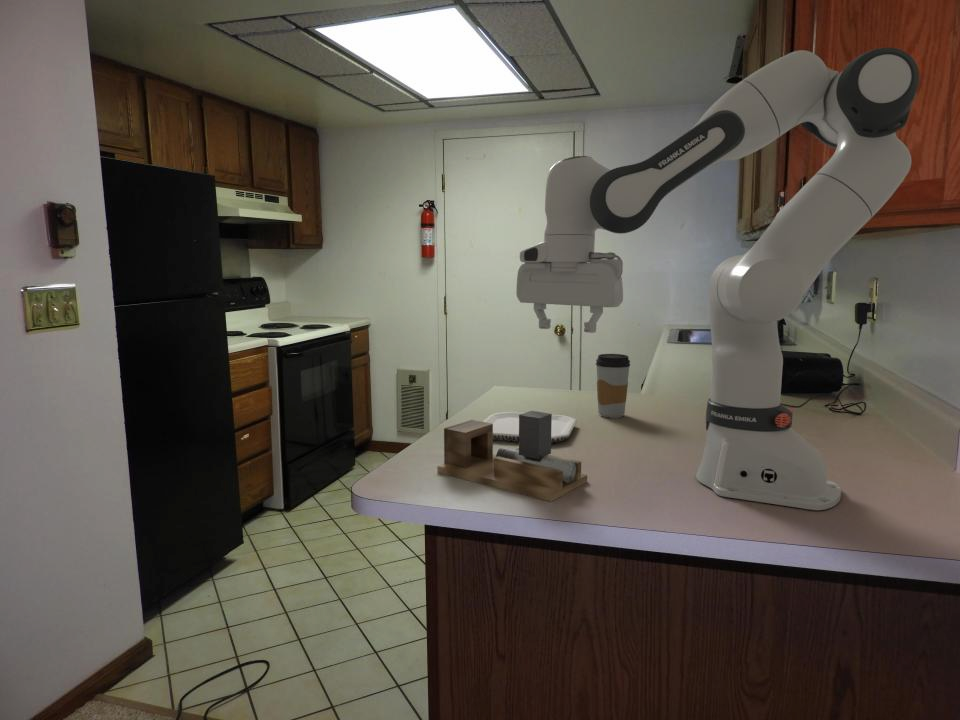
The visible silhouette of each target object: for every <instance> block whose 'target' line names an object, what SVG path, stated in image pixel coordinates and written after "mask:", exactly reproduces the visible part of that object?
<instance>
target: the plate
mask: <svg viewBox="0 0 960 720" xmlns="http://www.w3.org/2000/svg"><path fill="white" fill-rule="evenodd" d="M523 413H524V412H516V411H502V412H497V413H496V412H494V413H491V414H490V415H489V416H487V417H486V418H485V419H484V420H482V422H486V423H491V424H493V441H503V440H504V441H505V442H506V441H507V442H516V441H518V442H517V443H519V415H520V414H523ZM577 421H578V420H577V419H576V418H575V417H570V416H567V415H564V414H562V415H561V414H552V422H551V444H554V442H555V443H560V442H562V441H564V440H566V439H568V438H570V436H571V434H572V431H573V429H575V426H576V424H577Z"/></svg>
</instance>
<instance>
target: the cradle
mask: <svg viewBox="0 0 960 720" xmlns="http://www.w3.org/2000/svg"><path fill="white" fill-rule="evenodd" d="M493 441H494V440H493V424H491V423H486V422H483V421H479V420H476V419H475V420H474V419H471V420H467V421H464V422H461V423H457V424H454V425H451V426H447V427H444V428H443V449H444V450H443V457H444V458H443V459H444V460H443V462H444V463H442V464H438V465H437V473H438V474H443V475H446V476H449V477H454V478H458V479H461V480H465V481H470V482H473V483H478V484H481V485H485V486H489V487H491V488H492V487H493V488H496V489H500V490H505V491H508V492H513V493H516V494H520V495H524V496H527V497H532V498H536V499H540V500H542V501H543V500H544V501H547V502H549V503H550V502H553V501H556V500H557V499H559V498H560V497H562V496H564V495H566V494H567V493H569V492H571V491H573V490H575V489H577V488H578V487H581V486H582V485H584V484H586V483H587V482H588V474H584V473H582V461H580V460H575V459H570V458H566V457H562V456H556V455H551V454H549V455H547V456H549V457H554V458H558V459H563V460H568V461H573V462H574V463H575V466H576V472H575V476H574V479H573V480H572V482H570V483H566V482H563V471H562V470H557V469H553V468H548V467H544V466H539V465H535V464H530V463H526V462H521V461H517V460H512V459H508V458H503V457H499V456H498V457H496V454H494V453H493V451H494V449H493V448H494V447H493V446H494V444H493V443H494V442H493ZM516 450H519V447H518V448H516Z"/></svg>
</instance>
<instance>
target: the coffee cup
mask: <svg viewBox="0 0 960 720" xmlns="http://www.w3.org/2000/svg"><path fill="white" fill-rule="evenodd" d="M595 361H596V363H595V365H596V390H597V391H596V392H597V395H596V396H597V398H596V399H597V409H598V410H597V411H598V414H599V416H600V415H601V416H600V417H602V416H603V417H602V418H606V417H610V418H609V419H620V418H623V417H624V415H625V413H626V402H627V396H628V395H627V394H628V385H629V372H630V367H631V363H630V362H631V360H630V359H629V356H628V355H627V354H621V353H601V354H598V356H597V359H596V360H595ZM622 416H623V417H622ZM619 417H620V418H619Z"/></svg>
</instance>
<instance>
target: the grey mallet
mask: <svg viewBox="0 0 960 720" xmlns="http://www.w3.org/2000/svg"><path fill="white" fill-rule="evenodd" d="M522 413H523V414H520V415H519V442H518V448H519V450H516V449H517V448H516V449H515V448H509V447H506V446H501V447H500V448H498V449H497V452H496V454H495V455H496V457H498V456H499V457H503V458H508V459H512V460H517V461H521V462H526V463H530V464H535V465H539V466H544V467H548V468H553V469H557V470H562V471H563V482H566V483H570V482H572V480H573V479H574V476H575V472H576V466H575V463H574V462H573V461H568V460H563V459H558V458H554V457H549V456H547V455H551V454H552V443H551V422H552V415H553V414H552V413H548V412H542V411H538V410H537V411H536V410H530V411H527V412H522Z"/></svg>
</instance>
